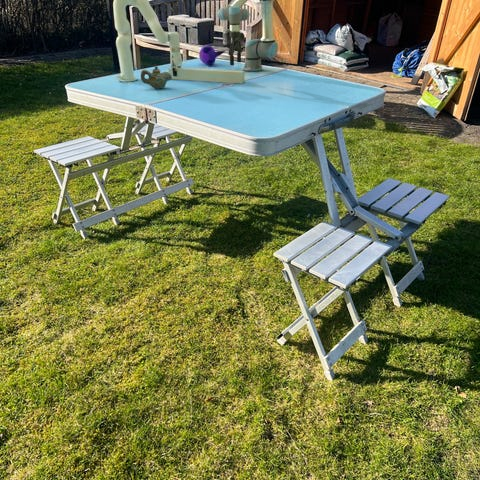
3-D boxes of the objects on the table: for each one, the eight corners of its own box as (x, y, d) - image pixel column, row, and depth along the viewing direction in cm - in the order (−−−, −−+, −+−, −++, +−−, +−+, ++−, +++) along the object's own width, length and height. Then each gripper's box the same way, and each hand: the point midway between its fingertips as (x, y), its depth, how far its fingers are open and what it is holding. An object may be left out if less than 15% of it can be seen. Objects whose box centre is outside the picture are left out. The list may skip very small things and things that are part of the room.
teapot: (171, 85, 322) (169, 63, 314) (174, 88, 312) (172, 66, 305) (141, 88, 316) (138, 65, 309) (143, 91, 307) (140, 68, 299)
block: (169, 79, 344) (168, 68, 341) (172, 77, 349) (172, 67, 345) (241, 83, 325) (241, 72, 321) (244, 81, 330) (244, 70, 326)
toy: (209, 67, 381) (200, 66, 405) (227, 60, 385) (217, 60, 408) (203, 48, 374) (194, 48, 397) (222, 41, 377) (212, 42, 401)
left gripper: (173, 51, 327) (176, 77, 336) (184, 48, 340) (186, 73, 349) (164, 51, 329) (167, 77, 338) (176, 48, 343) (178, 73, 352)
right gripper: (233, 33, 301) (234, 66, 312) (246, 29, 321) (246, 61, 331) (222, 33, 303) (224, 66, 314) (236, 29, 323) (237, 60, 334)
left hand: (177, 75), depth 344 cm, fingers closed on block, 6 cm apart
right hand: (235, 63), depth 323 cm, fingers open, 13 cm apart
